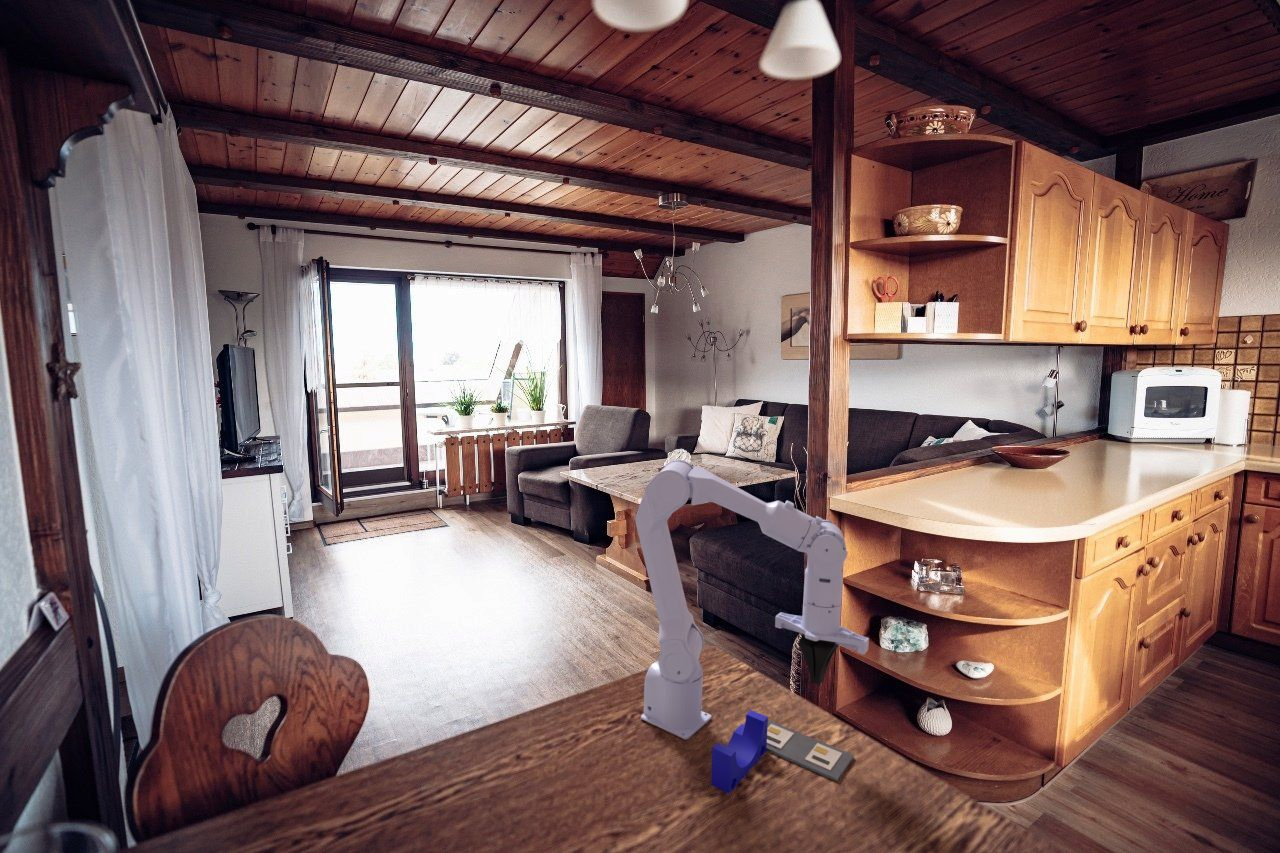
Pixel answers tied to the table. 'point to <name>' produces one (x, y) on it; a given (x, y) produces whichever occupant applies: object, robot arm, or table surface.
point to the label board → (807, 751)
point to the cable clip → (739, 752)
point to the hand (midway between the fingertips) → (817, 681)
